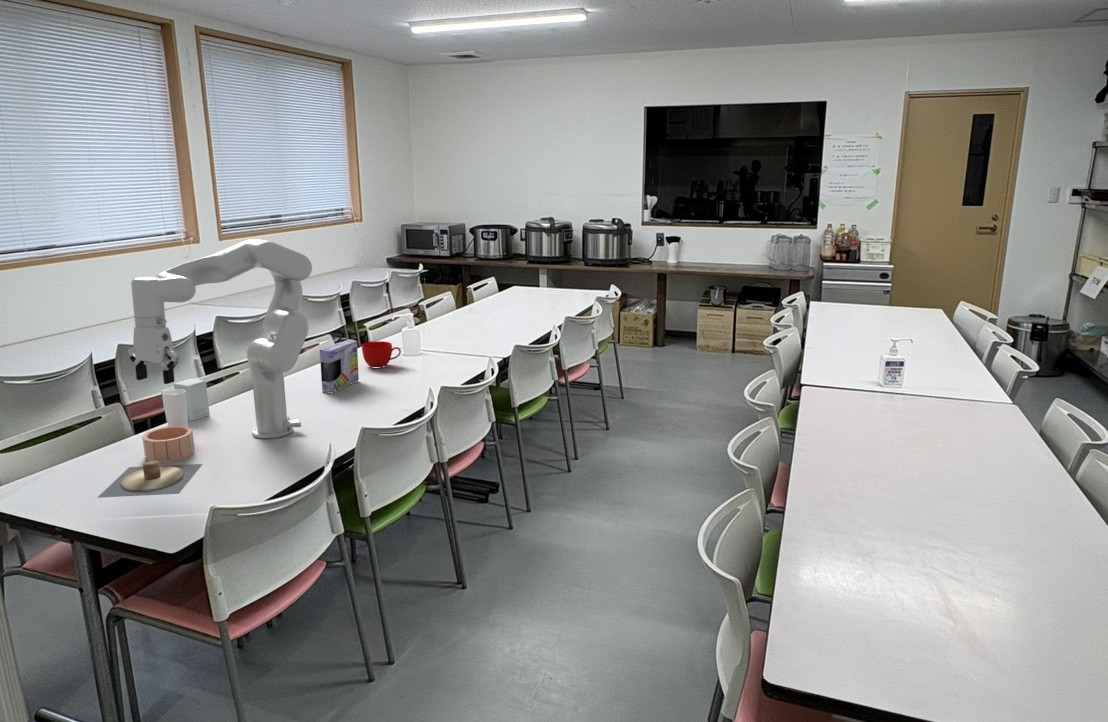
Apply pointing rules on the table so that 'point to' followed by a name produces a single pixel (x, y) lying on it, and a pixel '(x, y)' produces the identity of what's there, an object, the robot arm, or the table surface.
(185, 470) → the mat
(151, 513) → the table surface
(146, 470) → the lid
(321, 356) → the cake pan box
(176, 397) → the drinking glass
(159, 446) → the bowl
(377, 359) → the ceramic cup
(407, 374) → the table surface
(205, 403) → the supplement box
